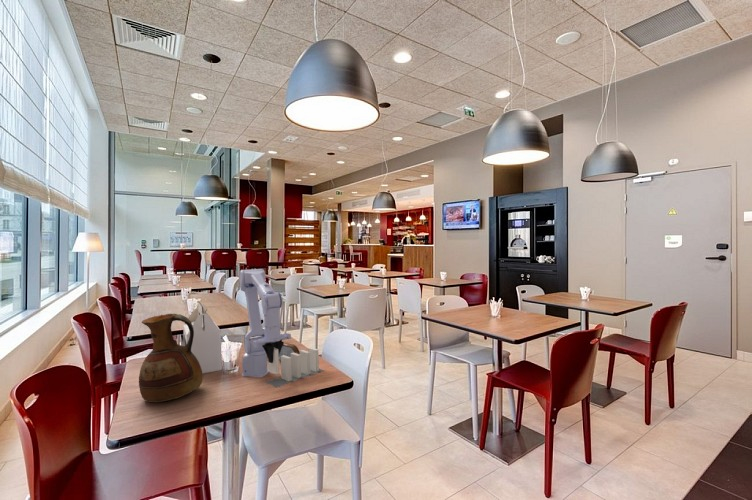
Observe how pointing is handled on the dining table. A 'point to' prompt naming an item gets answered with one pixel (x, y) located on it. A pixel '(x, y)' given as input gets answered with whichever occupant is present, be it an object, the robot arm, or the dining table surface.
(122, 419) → the dining table surface
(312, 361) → the domino
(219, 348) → the gable box
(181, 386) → the ceramic pitcher
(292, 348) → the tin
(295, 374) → the domino
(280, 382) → the mat
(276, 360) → the domino
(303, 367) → the domino
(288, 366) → the domino
